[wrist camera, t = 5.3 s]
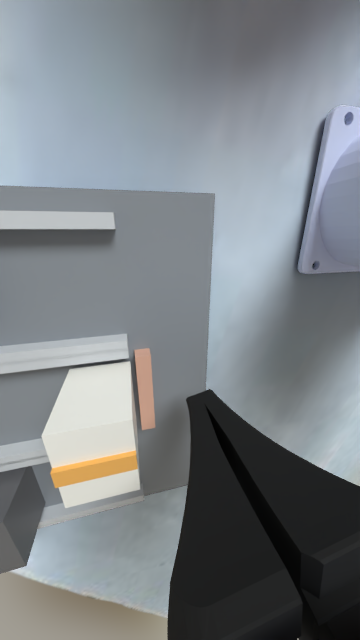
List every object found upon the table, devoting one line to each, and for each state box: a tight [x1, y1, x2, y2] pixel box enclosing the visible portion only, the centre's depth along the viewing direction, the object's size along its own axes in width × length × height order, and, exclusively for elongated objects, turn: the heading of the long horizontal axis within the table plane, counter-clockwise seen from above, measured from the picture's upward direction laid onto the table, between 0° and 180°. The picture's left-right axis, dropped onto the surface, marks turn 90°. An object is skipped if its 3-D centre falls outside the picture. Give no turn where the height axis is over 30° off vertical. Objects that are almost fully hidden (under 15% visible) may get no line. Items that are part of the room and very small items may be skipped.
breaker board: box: [0, 186, 215, 574], centre depth 11 cm, size 15×20×4 cm
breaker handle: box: [41, 361, 140, 508], centre depth 10 cm, size 3×4×4 cm
